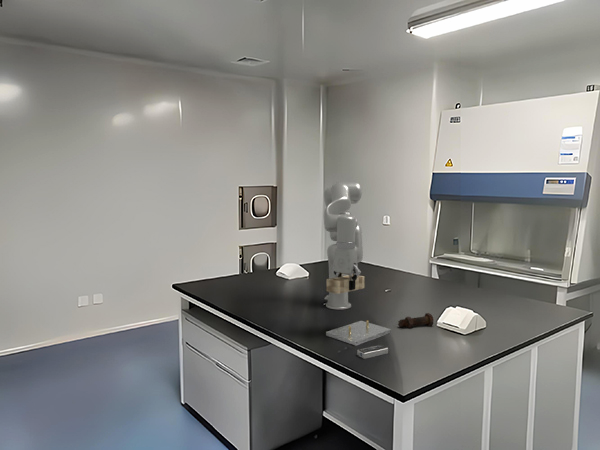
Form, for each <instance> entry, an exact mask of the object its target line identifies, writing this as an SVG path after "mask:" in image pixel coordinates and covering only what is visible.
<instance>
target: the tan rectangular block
mask: <svg viewBox="0 0 600 450" xmlns="http://www.w3.org/2000/svg"><path fill="white" fill-rule="evenodd" d="M352 277H353V274H352ZM349 281H350V277H349V274H348V275H347V276H341V277H336V278H331V279H329V278H326V292H328V293H329V292H332V293H336V294H340V293H344V292H348V293H349V292H355V291H357V290H358V291H359V290H362V289H365V275H364V276H363V275H359V277H358V278H357V280H355V290H349Z"/></svg>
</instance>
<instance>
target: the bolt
mask: <svg viewBox="0 0 600 450" xmlns="http://www.w3.org/2000/svg"><path fill="white" fill-rule="evenodd" d="M397 325H398V326H399V327H400V328H405V327H406V328H408V329H411V328H413V327H414V326H419V325H421V326H422V325H426V326H429V327H432V326H433V325H434V317H433V315H432V313H429V312H427V313H426V312H425V314H424V316H420V317H419V316H417V317H411V316H406V317H405V318H404V319H400V320H398V322H397Z"/></svg>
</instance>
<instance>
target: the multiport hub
mask: <svg viewBox="0 0 600 450" xmlns="http://www.w3.org/2000/svg"><path fill="white" fill-rule="evenodd" d="M356 352H357V354H356V355H357V356H358V357H360V358H361V359H364V360H366V359H370V358H374V357H378V356H382V355H383V356H384V355H387V354H388V353H389V347H387V346H385V345H383V344H378V345H372V346H367V347H363V348H360V349H357V351H356Z"/></svg>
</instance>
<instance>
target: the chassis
mask: <svg viewBox="0 0 600 450" xmlns="http://www.w3.org/2000/svg"><path fill="white" fill-rule="evenodd" d="M391 333H392V329H391V328H389V327H385V326H382V325H378V324H374V323H370V322H369V320H368V319H367V320H365V321H363V320H359V321H355V322H353V323H350V324H347V325H344V326H340V327H337V328H334V329H331V330H329V331H325V336H327V337H329V338H332V339H335V340H338V341H341V342H344V343H347V344H349V345H353V346H355V347H357V346H359V345H362V344H365V343H366V342H370V341H372V340H375V339H378V338H381V337H383V336H384V337H385V336H386V335H388V334H391Z"/></svg>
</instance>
